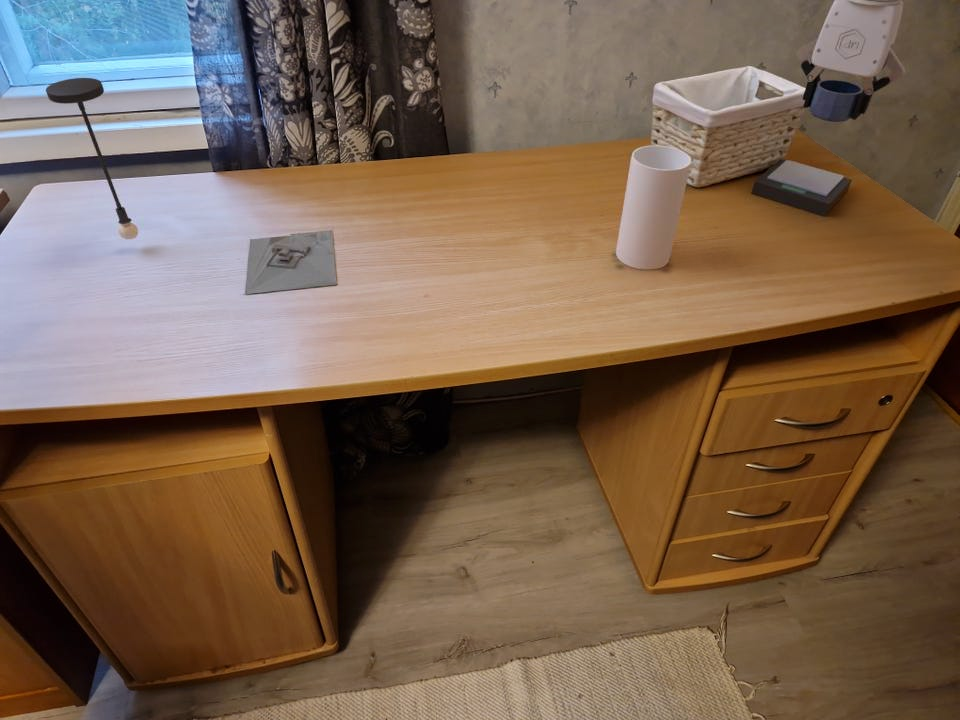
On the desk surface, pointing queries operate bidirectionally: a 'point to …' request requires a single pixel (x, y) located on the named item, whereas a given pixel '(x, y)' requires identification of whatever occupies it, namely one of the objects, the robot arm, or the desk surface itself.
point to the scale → (802, 186)
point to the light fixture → (91, 132)
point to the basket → (726, 121)
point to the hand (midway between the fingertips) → (831, 110)
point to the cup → (652, 206)
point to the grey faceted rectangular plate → (290, 262)
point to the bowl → (834, 100)
